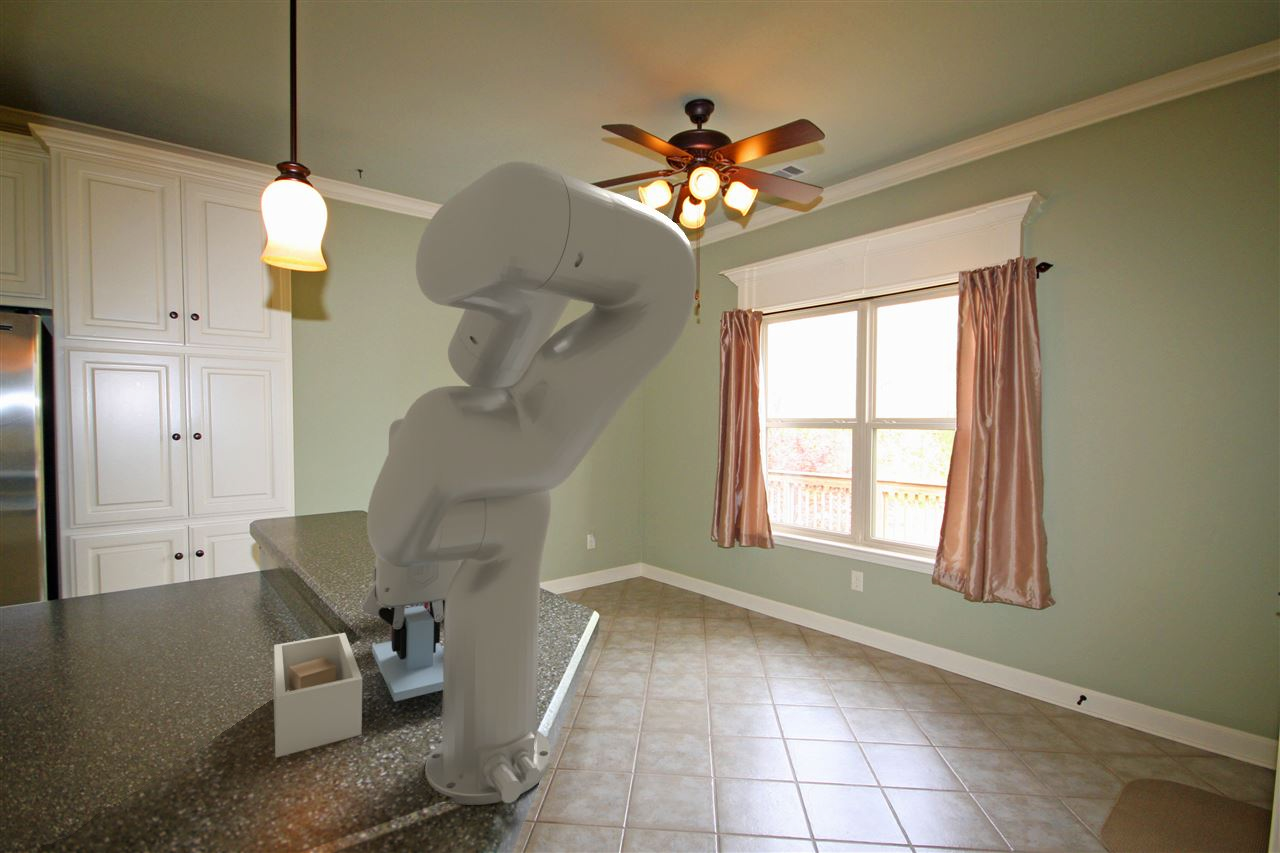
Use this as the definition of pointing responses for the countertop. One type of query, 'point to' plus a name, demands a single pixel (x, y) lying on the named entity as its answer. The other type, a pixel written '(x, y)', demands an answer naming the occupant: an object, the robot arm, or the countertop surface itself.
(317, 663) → the walnut block
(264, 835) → the countertop surface
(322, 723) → the tub
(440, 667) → the lid
